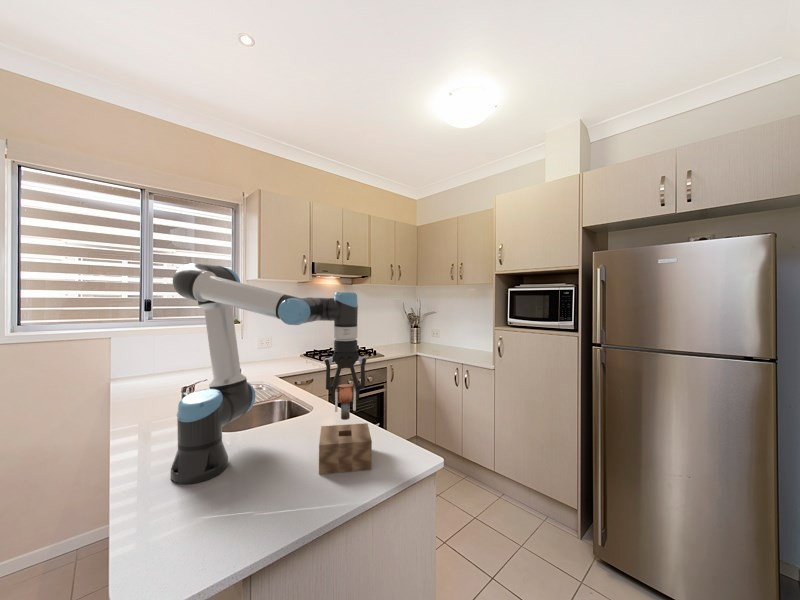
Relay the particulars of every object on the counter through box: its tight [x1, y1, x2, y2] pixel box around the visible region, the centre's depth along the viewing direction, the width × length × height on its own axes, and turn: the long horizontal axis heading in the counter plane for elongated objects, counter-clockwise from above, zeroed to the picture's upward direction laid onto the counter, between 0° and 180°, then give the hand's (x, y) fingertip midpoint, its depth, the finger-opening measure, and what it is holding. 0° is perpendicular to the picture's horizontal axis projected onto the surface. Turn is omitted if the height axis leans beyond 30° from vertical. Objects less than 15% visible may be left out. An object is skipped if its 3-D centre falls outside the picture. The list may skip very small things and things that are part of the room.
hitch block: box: [318, 422, 373, 475], centre depth 106 cm, size 16×14×9 cm
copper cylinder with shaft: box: [336, 383, 355, 421], centre depth 105 cm, size 5×5×10 cm
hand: (345, 409), depth 105 cm, fingers closed on copper cylinder with shaft, 5 cm apart
